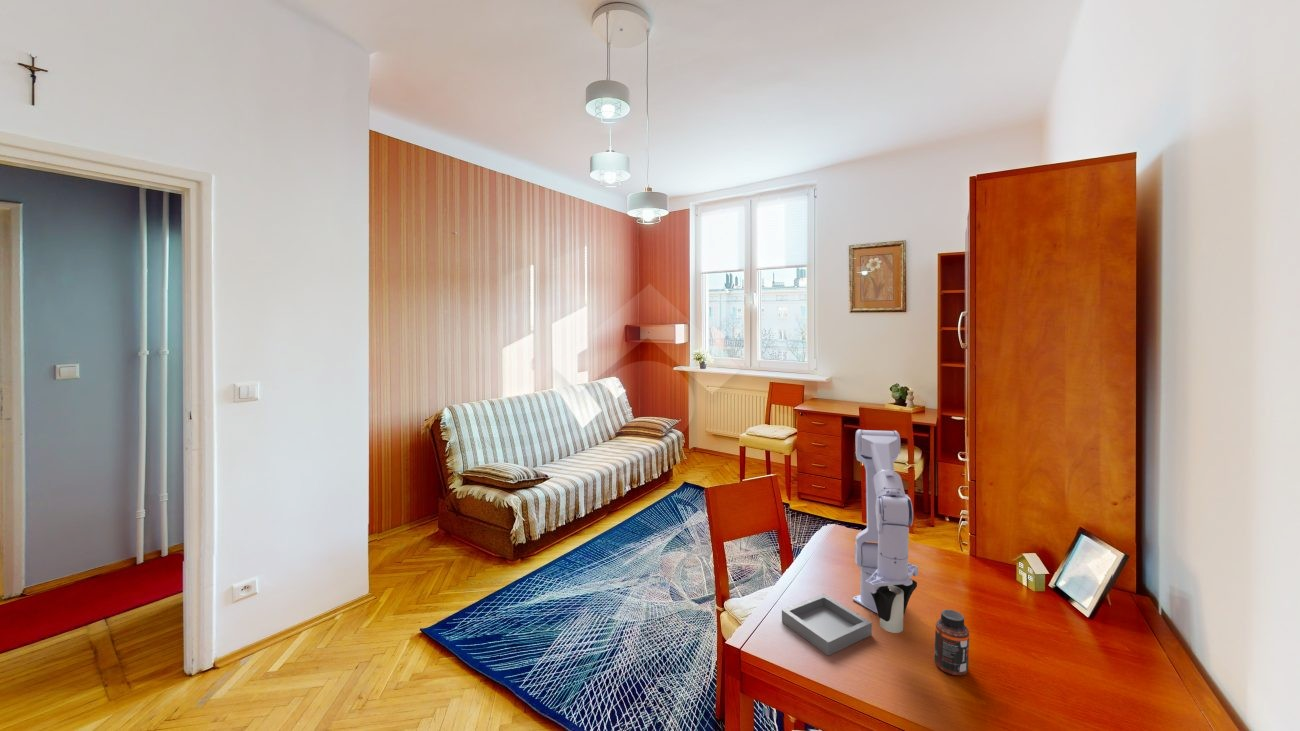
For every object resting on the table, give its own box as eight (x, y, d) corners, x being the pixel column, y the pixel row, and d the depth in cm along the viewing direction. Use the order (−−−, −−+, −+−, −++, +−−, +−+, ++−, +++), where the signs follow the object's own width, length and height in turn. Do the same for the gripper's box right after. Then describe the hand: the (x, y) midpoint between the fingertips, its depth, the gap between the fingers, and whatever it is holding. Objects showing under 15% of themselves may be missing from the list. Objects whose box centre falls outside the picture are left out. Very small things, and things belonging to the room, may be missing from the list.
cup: (888, 618, 107) (889, 582, 107) (907, 628, 104) (908, 592, 103) (875, 624, 105) (876, 588, 105) (894, 635, 101) (894, 598, 101)
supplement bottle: (973, 679, 98) (975, 625, 97) (940, 675, 99) (942, 621, 98) (960, 659, 104) (962, 607, 103) (930, 655, 105) (931, 605, 104)
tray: (823, 605, 125) (823, 593, 125) (871, 635, 113) (871, 622, 112) (781, 621, 118) (781, 609, 118) (828, 655, 106) (828, 642, 106)
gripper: (887, 570, 96) (886, 636, 97) (932, 552, 103) (930, 614, 104) (856, 555, 102) (855, 618, 103) (901, 539, 109) (900, 598, 110)
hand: (891, 615), depth 104 cm, fingers closed on cup, 4 cm apart
